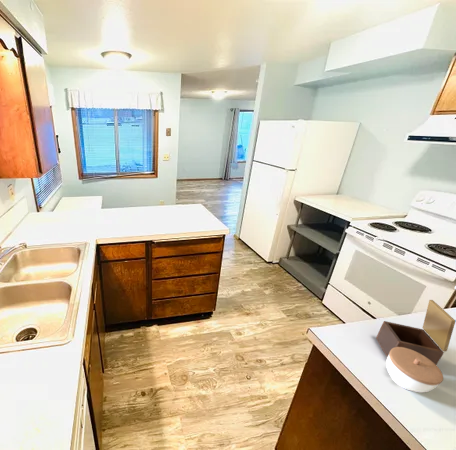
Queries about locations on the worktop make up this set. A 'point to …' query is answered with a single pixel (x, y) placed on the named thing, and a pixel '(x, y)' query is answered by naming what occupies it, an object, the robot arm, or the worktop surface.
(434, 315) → the gold box lid
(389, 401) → the worktop surface
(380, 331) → the brown hinged box
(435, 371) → the trinket box
